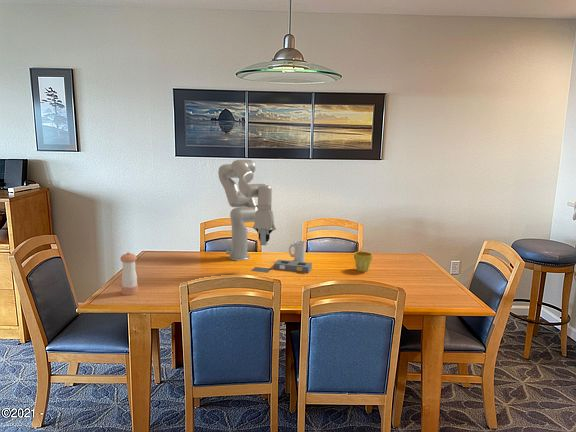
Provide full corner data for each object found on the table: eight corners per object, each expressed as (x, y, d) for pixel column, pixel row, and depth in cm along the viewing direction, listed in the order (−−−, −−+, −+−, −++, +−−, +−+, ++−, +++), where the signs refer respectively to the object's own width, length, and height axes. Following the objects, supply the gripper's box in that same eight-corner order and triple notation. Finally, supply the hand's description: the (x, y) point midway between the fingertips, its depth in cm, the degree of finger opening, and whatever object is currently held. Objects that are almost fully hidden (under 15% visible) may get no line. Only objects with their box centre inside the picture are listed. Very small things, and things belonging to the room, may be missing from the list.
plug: (260, 245, 230) (260, 227, 229) (262, 243, 233) (262, 226, 232) (265, 245, 230) (265, 228, 228) (267, 244, 233) (267, 227, 231)
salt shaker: (135, 295, 192) (134, 254, 188) (119, 295, 191) (117, 254, 188) (140, 289, 199) (138, 250, 196) (124, 289, 198) (122, 250, 195)
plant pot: (373, 269, 242) (374, 252, 240) (368, 273, 233) (369, 256, 231) (356, 266, 247) (357, 250, 245) (350, 270, 238) (351, 254, 236)
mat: (250, 271, 232) (250, 270, 231) (255, 267, 239) (255, 266, 239) (267, 273, 229) (267, 272, 229) (272, 269, 237) (272, 268, 236)
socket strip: (273, 269, 236) (273, 263, 235) (278, 265, 245) (278, 259, 244) (308, 273, 231) (308, 267, 230) (311, 268, 240) (311, 262, 239)
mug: (304, 260, 257) (305, 241, 255) (305, 263, 251) (305, 243, 249) (288, 259, 258) (289, 240, 255) (288, 262, 251) (288, 243, 249)
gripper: (247, 207, 227) (247, 240, 230) (276, 209, 222) (275, 243, 225) (253, 206, 234) (252, 238, 237) (280, 208, 229) (280, 240, 232)
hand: (264, 240), depth 231 cm, fingers closed on plug, 3 cm apart
